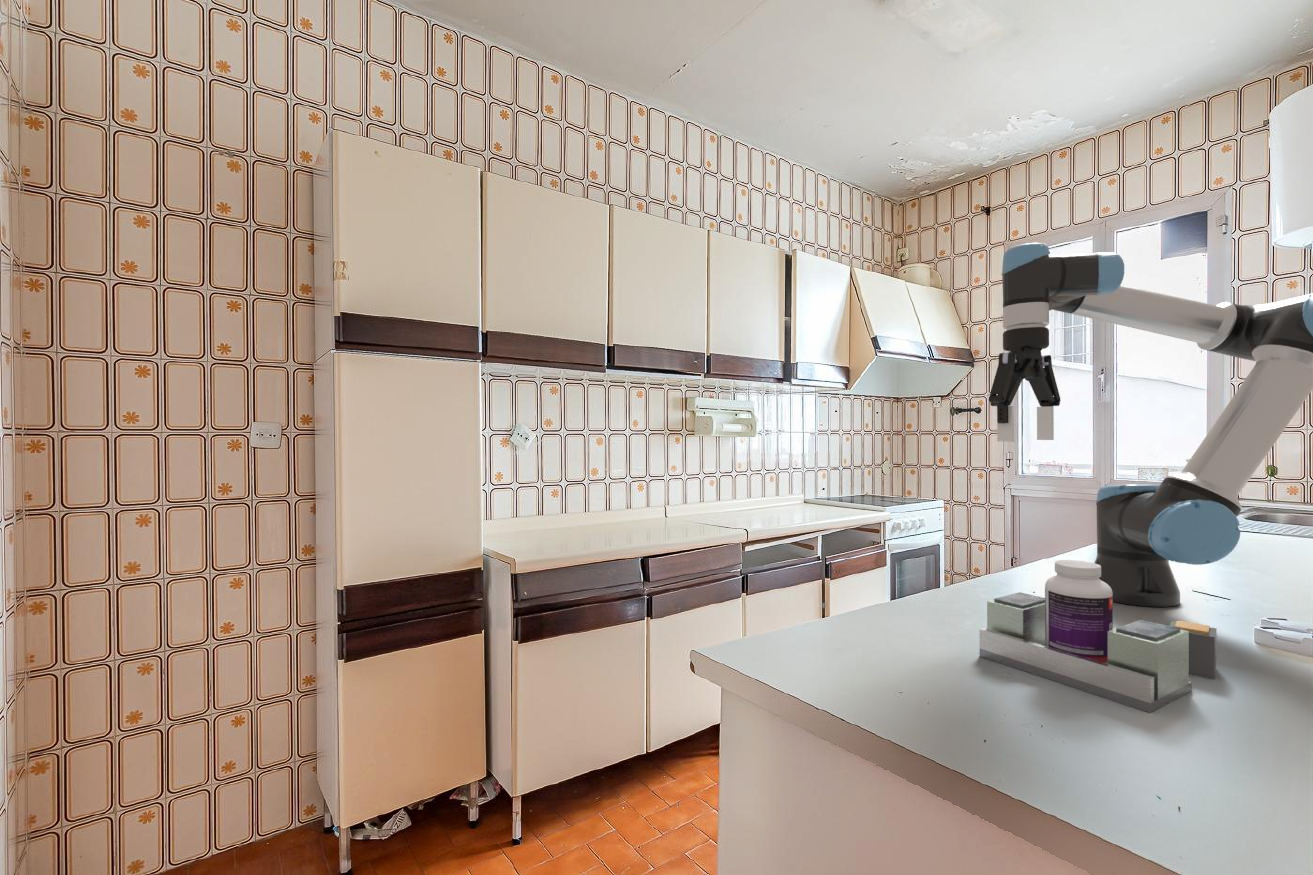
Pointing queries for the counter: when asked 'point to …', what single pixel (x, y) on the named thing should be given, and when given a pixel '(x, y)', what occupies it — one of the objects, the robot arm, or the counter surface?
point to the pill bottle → (1078, 610)
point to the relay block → (1200, 648)
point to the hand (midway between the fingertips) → (1026, 440)
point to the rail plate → (1138, 659)
